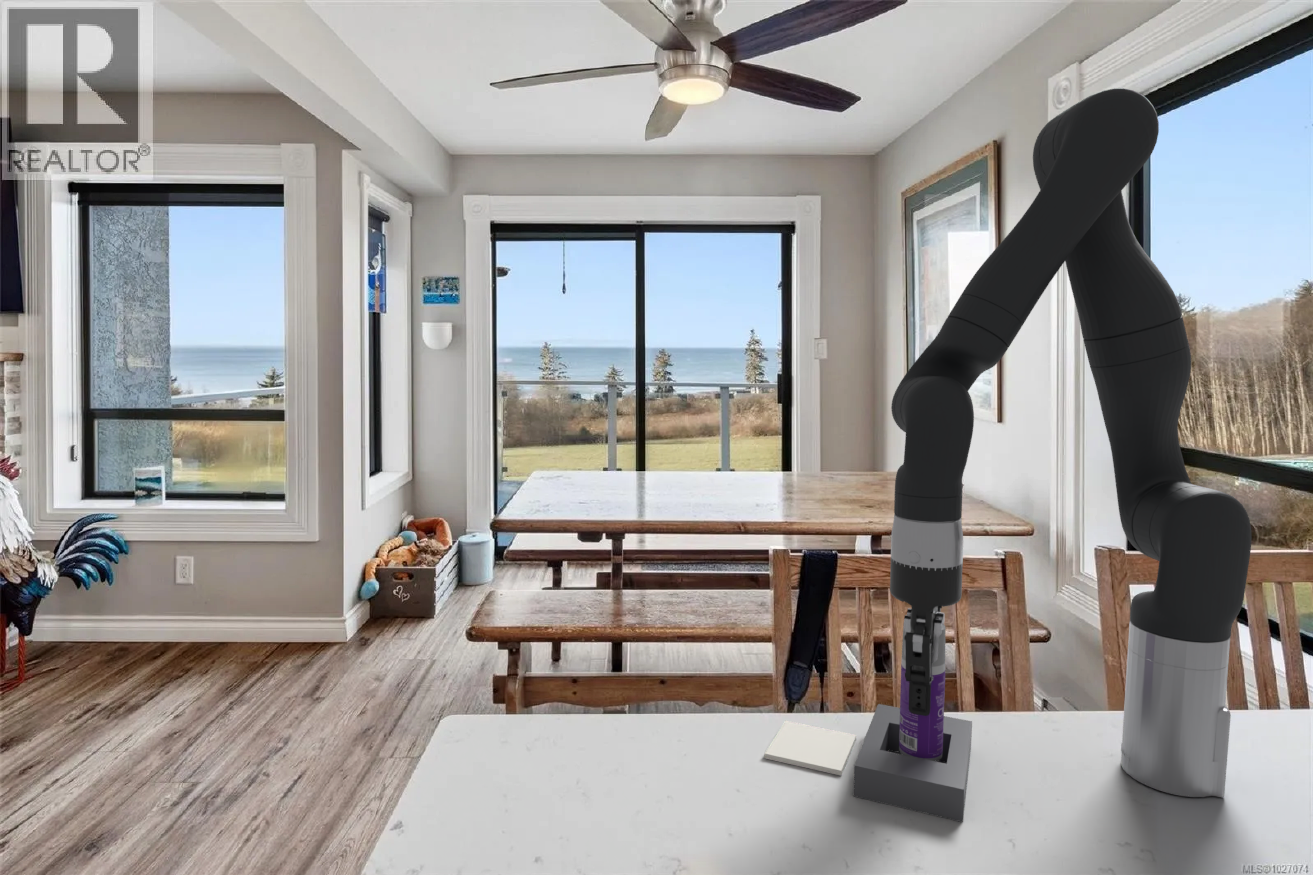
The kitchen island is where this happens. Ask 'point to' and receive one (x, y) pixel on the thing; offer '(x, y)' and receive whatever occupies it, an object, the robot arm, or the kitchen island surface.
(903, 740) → the container
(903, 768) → the socket block
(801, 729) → the tile
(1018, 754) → the kitchen island surface
